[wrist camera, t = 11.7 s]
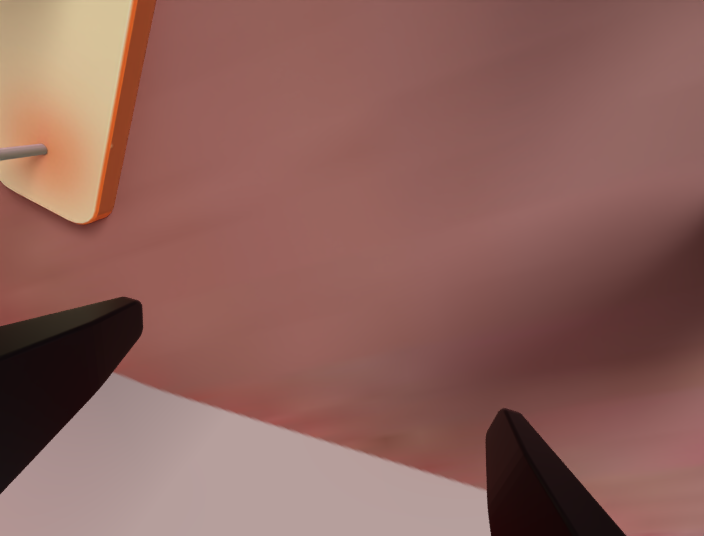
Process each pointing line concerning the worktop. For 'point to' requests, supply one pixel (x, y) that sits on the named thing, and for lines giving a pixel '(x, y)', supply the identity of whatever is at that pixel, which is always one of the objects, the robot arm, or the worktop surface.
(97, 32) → the crank mechanism
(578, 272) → the worktop surface
